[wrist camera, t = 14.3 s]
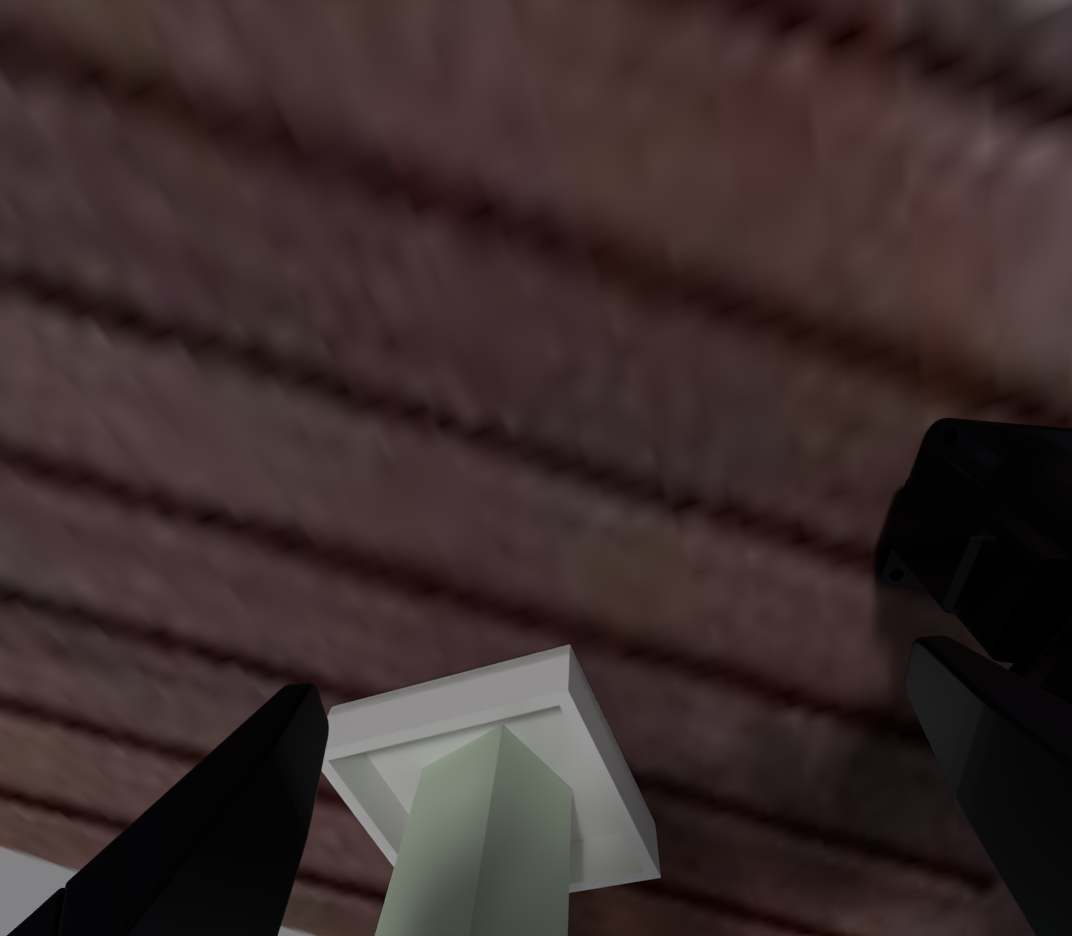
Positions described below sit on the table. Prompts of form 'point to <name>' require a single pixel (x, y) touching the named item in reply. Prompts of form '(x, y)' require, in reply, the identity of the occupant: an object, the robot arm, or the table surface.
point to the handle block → (483, 846)
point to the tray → (474, 709)
